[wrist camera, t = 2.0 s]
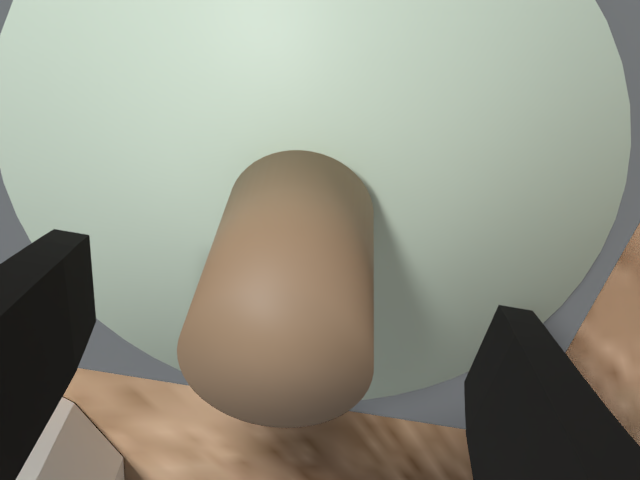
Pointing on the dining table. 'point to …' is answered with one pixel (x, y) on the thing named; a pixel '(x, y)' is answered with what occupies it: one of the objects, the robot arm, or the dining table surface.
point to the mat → (448, 397)
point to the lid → (316, 179)
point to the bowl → (72, 450)
